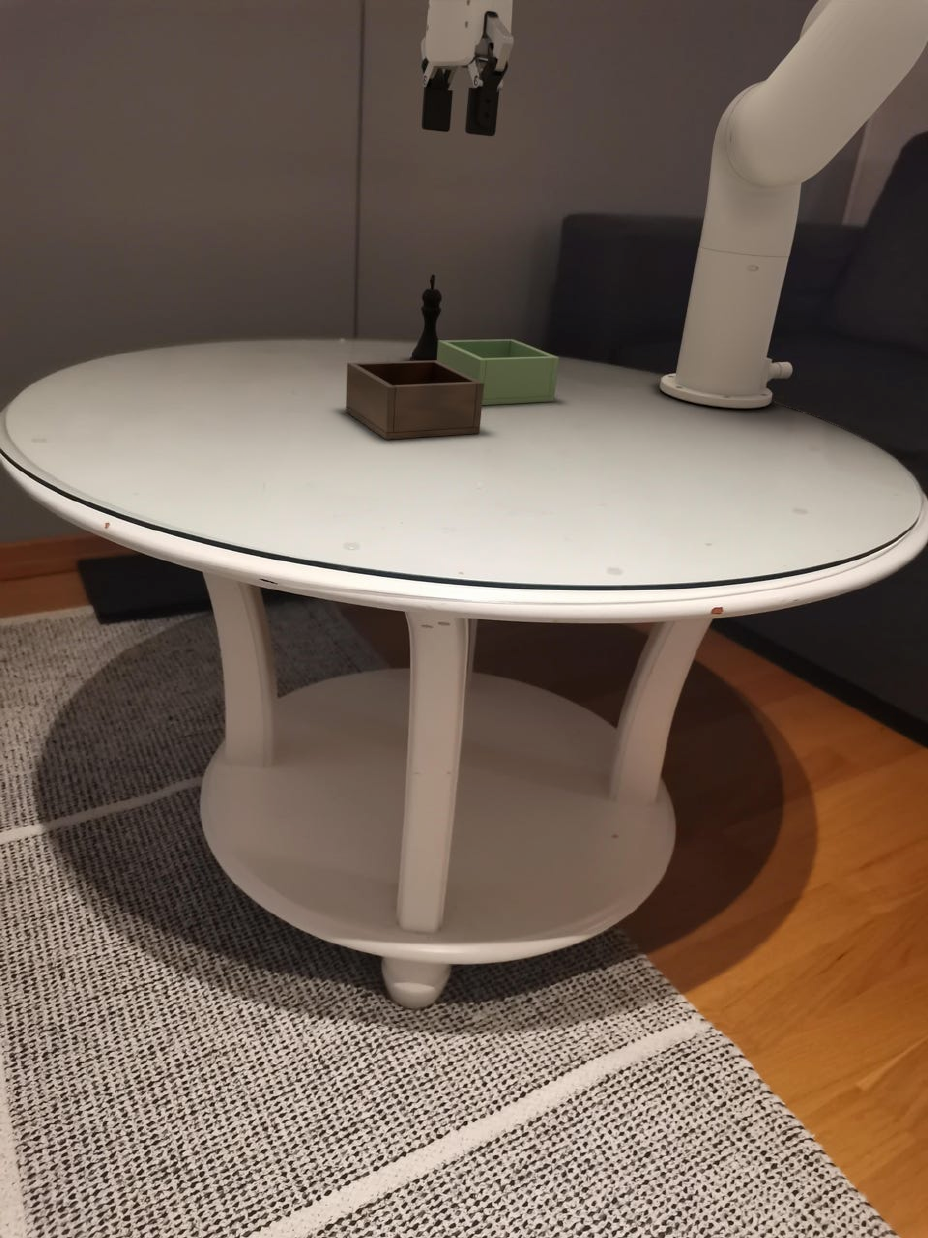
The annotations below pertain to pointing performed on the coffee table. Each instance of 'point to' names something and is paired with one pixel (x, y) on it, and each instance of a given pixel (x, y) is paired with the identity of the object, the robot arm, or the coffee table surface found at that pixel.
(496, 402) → the light bin
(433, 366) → the dark bin
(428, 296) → the chess piece
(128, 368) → the coffee table surface
